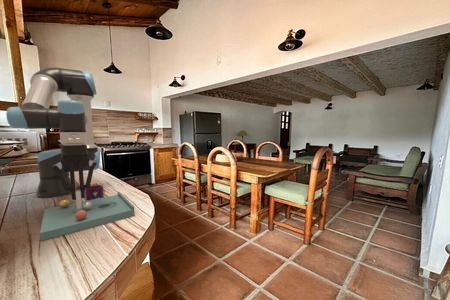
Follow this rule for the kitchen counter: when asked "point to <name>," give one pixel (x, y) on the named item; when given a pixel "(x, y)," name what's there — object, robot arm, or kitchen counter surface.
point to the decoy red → (81, 214)
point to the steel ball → (86, 205)
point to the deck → (97, 215)
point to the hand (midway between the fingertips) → (79, 207)
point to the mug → (94, 192)
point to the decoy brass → (64, 203)
